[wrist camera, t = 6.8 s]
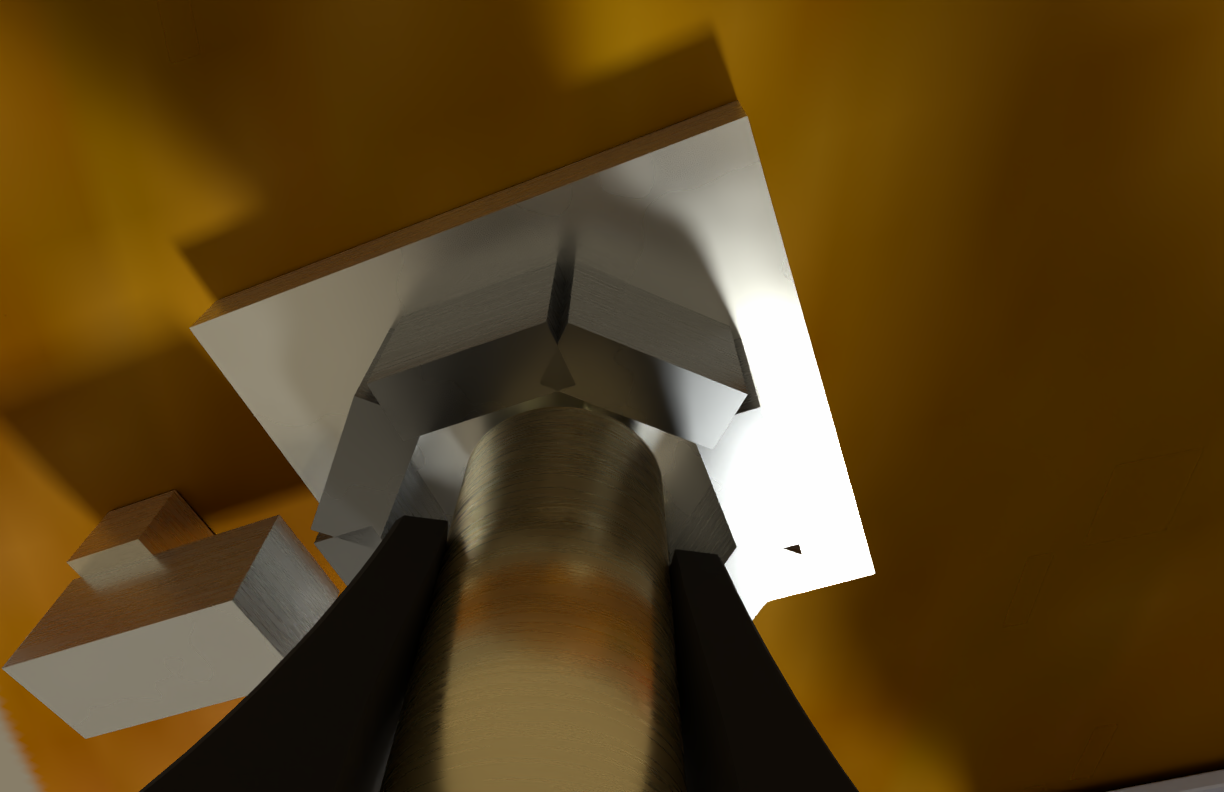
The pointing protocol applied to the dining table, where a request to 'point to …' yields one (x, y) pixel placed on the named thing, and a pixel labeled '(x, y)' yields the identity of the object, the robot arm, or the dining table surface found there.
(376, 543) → the coupling socket
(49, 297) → the dining table surface
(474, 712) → the coupler
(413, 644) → the robot arm
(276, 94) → the dining table surface
